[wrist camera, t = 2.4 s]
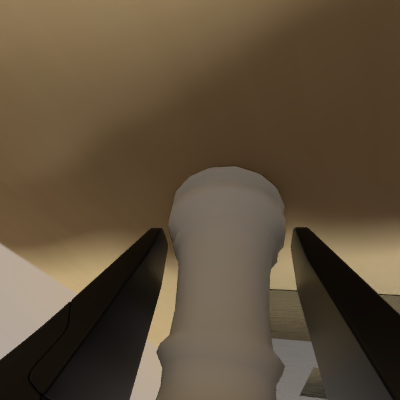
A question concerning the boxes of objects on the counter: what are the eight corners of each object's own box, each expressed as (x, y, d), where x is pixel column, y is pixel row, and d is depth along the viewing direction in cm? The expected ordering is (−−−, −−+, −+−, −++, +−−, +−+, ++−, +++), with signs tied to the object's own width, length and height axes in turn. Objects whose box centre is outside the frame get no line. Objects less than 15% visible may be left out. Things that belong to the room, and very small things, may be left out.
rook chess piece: (242, 255, 11) (251, 557, 5) (159, 219, 10) (37, 522, 4) (308, 193, 8) (529, 691, 2) (203, 137, 8) (42, 668, 1)
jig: (537, 302, 10) (609, 366, 8) (419, 382, 17) (443, 427, 15) (232, 288, 13) (232, 335, 11) (238, 363, 20) (238, 399, 18)
